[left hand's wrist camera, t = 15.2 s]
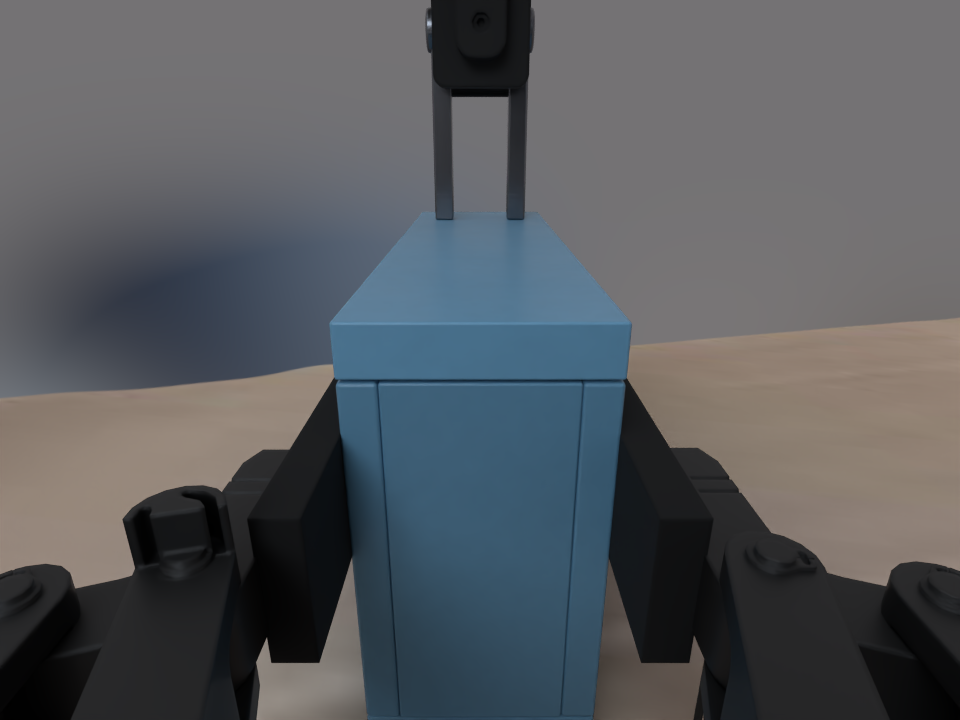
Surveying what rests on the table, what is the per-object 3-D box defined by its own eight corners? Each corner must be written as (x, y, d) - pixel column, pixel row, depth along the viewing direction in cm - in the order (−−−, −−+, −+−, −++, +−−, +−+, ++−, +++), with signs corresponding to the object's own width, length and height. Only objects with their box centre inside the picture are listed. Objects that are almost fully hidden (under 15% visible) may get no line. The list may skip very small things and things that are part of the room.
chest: (428, 419, 28) (422, 238, 25) (531, 419, 28) (537, 238, 25) (368, 741, 13) (334, 383, 10) (592, 740, 13) (627, 382, 10)
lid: (422, 236, 26) (415, 22, 23) (536, 236, 26) (544, 22, 23) (333, 381, 10) (273, -248, 7) (627, 380, 10) (688, -248, 7)
